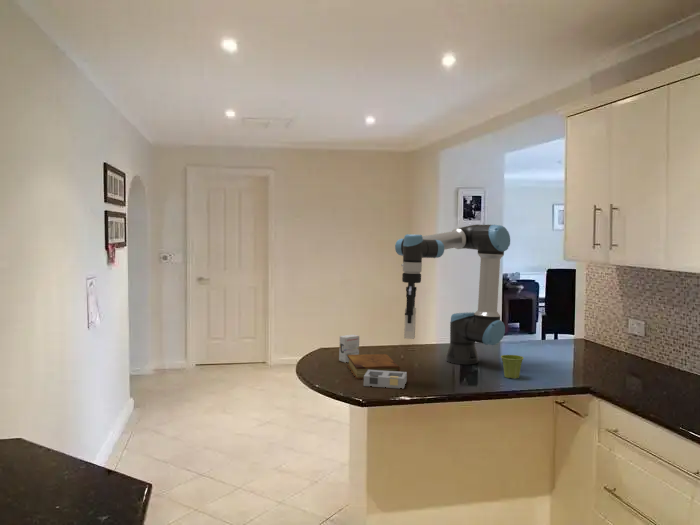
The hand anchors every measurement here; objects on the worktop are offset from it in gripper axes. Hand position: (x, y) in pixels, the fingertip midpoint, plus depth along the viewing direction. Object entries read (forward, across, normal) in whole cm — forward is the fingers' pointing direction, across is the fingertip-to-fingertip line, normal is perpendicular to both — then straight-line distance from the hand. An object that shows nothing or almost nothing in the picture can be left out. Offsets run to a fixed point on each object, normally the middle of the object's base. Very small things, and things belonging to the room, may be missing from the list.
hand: (409, 330), depth 245 cm
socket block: (+22, +4, -9) cm, 24 cm away
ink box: (+22, -32, -30) cm, 49 cm away
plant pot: (+21, -20, +42) cm, 51 cm away
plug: (+3, 0, 0) cm, 3 cm away
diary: (+22, -14, -17) cm, 31 cm away
